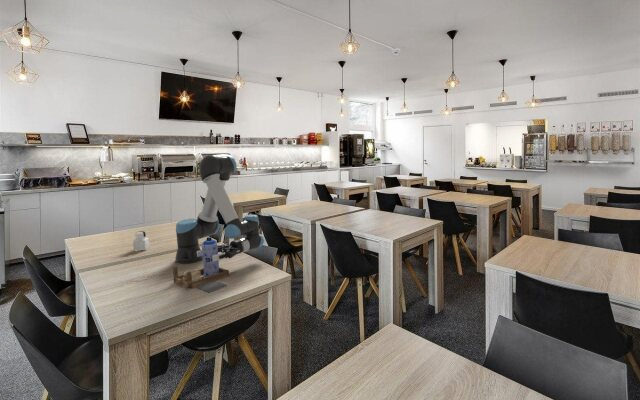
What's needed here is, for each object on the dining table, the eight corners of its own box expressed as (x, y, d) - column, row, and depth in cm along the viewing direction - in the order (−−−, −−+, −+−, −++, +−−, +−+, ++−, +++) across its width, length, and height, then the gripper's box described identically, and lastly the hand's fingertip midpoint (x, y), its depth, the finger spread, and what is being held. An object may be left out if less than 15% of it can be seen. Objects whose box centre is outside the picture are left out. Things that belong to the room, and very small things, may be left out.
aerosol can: (203, 279, 172) (200, 240, 169) (204, 273, 179) (201, 236, 176) (219, 277, 174) (217, 238, 171) (219, 272, 181) (217, 234, 179)
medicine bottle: (138, 248, 230) (136, 230, 229) (149, 247, 231) (147, 230, 229) (134, 251, 223) (132, 233, 222) (145, 250, 224) (143, 232, 222)
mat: (196, 287, 161) (196, 286, 161) (215, 281, 169) (215, 280, 169) (208, 292, 155) (208, 292, 155) (227, 285, 163) (227, 284, 163)
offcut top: (183, 278, 167) (183, 273, 167) (191, 274, 172) (190, 269, 171) (193, 279, 165) (192, 274, 165) (200, 275, 169) (200, 271, 169)
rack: (174, 282, 168) (172, 266, 167) (213, 269, 185) (212, 255, 184) (189, 289, 160) (188, 272, 159) (229, 275, 177) (228, 260, 175)
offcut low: (183, 283, 168) (182, 277, 168) (194, 279, 173) (194, 273, 173) (190, 286, 164) (190, 280, 164) (202, 282, 169) (201, 276, 168)
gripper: (254, 257, 182) (220, 268, 165) (225, 249, 197) (191, 259, 181) (253, 243, 181) (219, 253, 164) (224, 236, 196) (190, 245, 180)
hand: (204, 256), depth 173 cm, fingers open, 13 cm apart
